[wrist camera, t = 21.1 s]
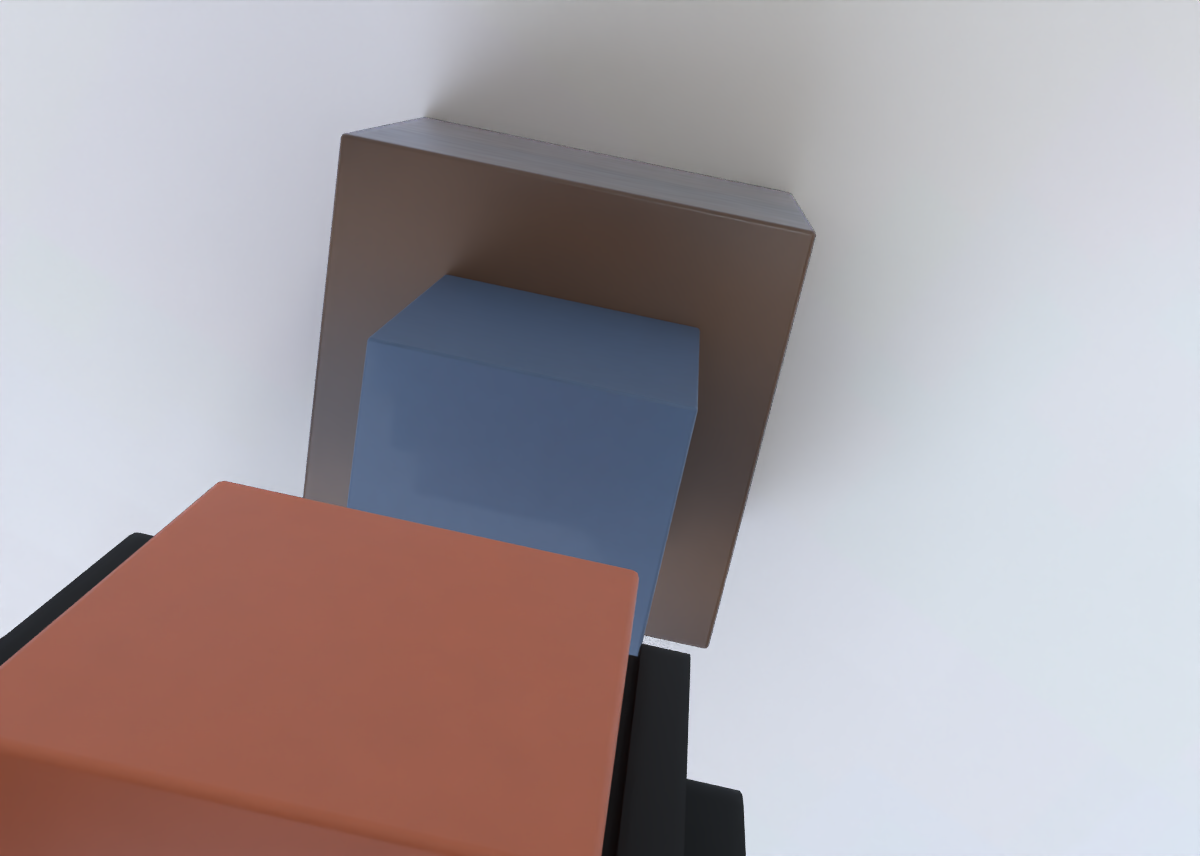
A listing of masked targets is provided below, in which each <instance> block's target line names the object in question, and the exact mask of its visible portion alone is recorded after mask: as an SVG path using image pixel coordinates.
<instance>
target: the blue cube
mask: <svg viewBox="0 0 1200 856" xmlns="http://www.w3.org/2000/svg"><path fill="white" fill-rule="evenodd" d="M699 341H700V330H699V329H698V328H696V327H691V326H686V325H681V324H677V323H672V322H667V321H663V320H658V319H653V318H649V317H644V316H639V315H635V314H630V313H625V312H620V311H616V310H611V309H606V308H602V307H597V306H592V305H588V304H583V303H578V302H573V301H569V300H564V299H559V298H555V297H550V296H545V295H541V294H536V293H531V292H527V291H522V290H517V289H512V288H508V287H503V286H498V285H494V284H489V283H484V282H480V281H475V280H470V279H466V278H461V277H456V276H451V275H444V276H443V277H442V278H441V279H439V280H438V281H437V282H436V283H435V284H433V285H432V286H431V287H430V288H429V289H427V290H426V291H425V292H424V293H423V294H421V295H420V296H419V297H418V298H416V299H415V300H414V301H413V302H412V303H410V304H409V305H408V306H407V307H406V308H404V309H403V310H402V311H401V312H400V313H398V314H397V315H396V316H395V317H393V318H392V319H391V320H390V321H389V322H387V323H386V324H385V325H384V326H383V327H381V328H380V329H379V330H378V331H377V332H375V333H374V334H373V335H372V336H370V337H369V338H368V340H367V347H366V355H365V363H364V372H363V380H362V388H361V396H360V404H359V412H358V420H357V428H356V437H355V445H354V453H353V461H352V469H351V477H350V485H349V493H348V502H347V508H351V509H355V510H360V511H365V512H369V513H374V514H378V515H383V516H387V517H392V518H397V519H401V520H406V521H410V522H415V523H420V524H424V525H429V526H433V527H438V528H442V529H447V530H452V531H456V532H461V533H465V534H470V535H474V536H479V537H484V538H488V539H493V540H497V541H502V542H506V543H511V544H516V545H520V546H525V547H529V548H534V549H538V550H543V551H548V552H552V553H557V554H561V555H566V556H571V557H575V558H580V559H584V560H589V561H593V562H598V563H603V564H607V565H612V566H616V567H621V568H625V569H630V570H633V571H635V572H637V573H638V577H639V583H638V590H637V598H636V605H635V612H634V620H633V627H632V634H631V642H630V649H629V655H634V656H638V652H639V649H640V646H641V644H642V642H643V638H644V634H645V629H646V625H647V621H648V617H649V613H650V608H651V604H652V600H653V596H654V592H655V587H656V583H657V579H658V575H659V571H660V567H661V562H662V558H663V554H664V550H665V546H666V541H667V537H668V533H669V529H670V525H671V520H672V516H673V512H674V508H675V504H676V499H677V495H678V491H679V487H680V483H681V478H682V474H683V470H684V466H685V462H686V458H687V453H688V449H689V445H690V441H691V437H692V432H693V428H694V424H695V420H696V416H697V411H698V377H699Z"/></svg>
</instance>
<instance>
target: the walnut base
mask: <svg viewBox="0 0 1200 856" xmlns="http://www.w3.org/2000/svg"><path fill="white" fill-rule="evenodd" d="M815 237H816V234H815V231H814V230H813V228H812V226H811V225H810V223H809V221H808V220H807V218H806V217H805V215H804V213H803V212H802V210H801V208H800V207H799V205H798V203H797V202H796V200H795V199H794V197H793V195H792V194H791V193H788V192H783V191H778V190H774V189H769V188H764V187H759V186H754V185H750V184H745V183H740V182H735V181H730V180H725V179H721V178H716V177H711V176H706V175H701V174H696V173H692V172H687V171H682V170H677V169H672V168H668V167H663V166H658V165H653V164H648V163H643V162H639V161H634V160H629V159H624V158H619V157H614V156H610V155H605V154H600V153H595V152H590V151H586V150H581V149H576V148H571V147H566V146H561V145H557V144H552V143H547V142H542V141H537V140H532V139H528V138H523V137H518V136H513V135H508V134H504V133H499V132H494V131H489V130H484V129H479V128H475V127H470V126H465V125H460V124H455V123H450V122H446V121H441V120H436V119H431V118H426V117H422V118H417V119H413V120H408V121H403V122H398V123H393V124H388V125H384V126H379V127H374V128H369V129H364V130H360V131H355V132H350V133H345V134H342V136H341V142H340V151H339V161H338V170H337V180H336V189H335V199H334V208H333V218H332V227H331V237H330V246H329V256H328V265H327V275H326V284H325V294H324V303H323V313H322V322H321V332H320V341H319V351H318V360H317V370H316V379H315V389H314V398H313V408H312V417H311V427H310V436H309V446H308V455H307V465H306V474H305V484H304V493H303V498H305V499H310V500H314V501H319V502H323V503H328V504H333V505H337V506H342V507H346V508H347V502H348V493H349V485H350V477H351V469H352V461H353V453H354V445H355V437H356V428H357V420H358V412H359V404H360V396H361V388H362V380H363V372H364V363H365V355H366V347H367V340H368V338H369V337H370V336H372V335H373V334H374V333H375V332H377V331H378V330H379V329H380V328H381V327H383V326H384V325H385V324H386V323H387V322H389V321H390V320H391V319H392V318H393V317H395V316H396V315H397V314H398V313H400V312H401V311H402V310H403V309H404V308H406V307H407V306H408V305H409V304H410V303H412V302H413V301H414V300H415V299H416V298H418V297H419V296H420V295H421V294H423V293H424V292H425V291H426V290H427V289H429V288H430V287H431V286H432V285H433V284H435V283H436V282H437V281H438V280H439V279H441V278H442V277H443V276H444V275H451V276H456V277H461V278H466V279H470V280H475V281H480V282H484V283H489V284H494V285H498V286H503V287H508V288H512V289H517V290H522V291H527V292H531V293H536V294H541V295H545V296H550V297H555V298H559V299H564V300H569V301H573V302H578V303H583V304H588V305H592V306H597V307H602V308H606V309H611V310H616V311H620V312H625V313H630V314H635V315H639V316H644V317H649V318H653V319H658V320H663V321H667V322H672V323H677V324H681V325H686V326H691V327H696V328H698V329H699V330H700V341H699V377H698V411H697V416H696V420H695V424H694V428H693V432H692V437H691V441H690V445H689V449H688V453H687V458H686V462H685V466H684V470H683V474H682V478H681V483H680V487H679V491H678V495H677V499H676V504H675V508H674V512H673V516H672V520H671V525H670V529H669V533H668V537H667V541H666V546H665V550H664V554H663V558H662V562H661V567H660V571H659V575H658V579H657V583H656V587H655V592H654V596H653V600H652V604H651V608H650V613H649V617H648V621H647V625H646V629H645V634H644V635H645V636H650V637H654V638H659V639H664V640H668V641H673V642H677V643H682V644H686V645H691V646H696V647H700V648H707V647H708V646H709V643H710V639H711V636H712V632H713V628H714V624H715V620H716V616H717V613H718V609H719V605H720V601H721V597H722V593H723V590H724V586H725V582H726V578H727V574H728V570H729V567H730V563H731V559H732V555H733V551H734V547H735V544H736V540H737V536H738V532H739V528H740V524H741V521H742V517H743V513H744V509H745V505H746V501H747V498H748V494H749V490H750V486H751V482H752V479H753V475H754V471H755V467H756V463H757V459H758V456H759V452H760V448H761V444H762V440H763V436H764V433H765V429H766V425H767V421H768V417H769V413H770V410H771V406H772V402H773V398H774V394H775V390H776V387H777V383H778V379H779V375H780V371H781V367H782V364H783V360H784V356H785V352H786V348H787V344H788V341H789V337H790V333H791V329H792V325H793V321H794V318H795V314H796V310H797V306H798V302H799V298H800V295H801V291H802V287H803V283H804V279H805V275H806V272H807V268H808V264H809V260H810V256H811V252H812V249H813V245H814V241H815Z"/></svg>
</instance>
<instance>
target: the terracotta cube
mask: <svg viewBox="0 0 1200 856" xmlns="http://www.w3.org/2000/svg"><path fill="white" fill-rule="evenodd" d="M638 583H639V577H638V573H637V572H635V571H633V570H630V569H625V568H621V567H616V566H612V565H607V564H603V563H598V562H593V561H589V560H584V559H580V558H575V557H571V556H566V555H561V554H557V553H552V552H548V551H543V550H538V549H534V548H529V547H525V546H520V545H516V544H511V543H506V542H502V541H497V540H493V539H488V538H484V537H479V536H474V535H470V534H465V533H461V532H456V531H452V530H447V529H442V528H438V527H433V526H429V525H424V524H420V523H415V522H410V521H406V520H401V519H397V518H392V517H387V516H383V515H378V514H374V513H369V512H365V511H360V510H355V509H351V508H346V507H342V506H337V505H333V504H328V503H323V502H319V501H314V500H310V499H305V498H301V497H296V496H291V495H287V494H282V493H278V492H273V491H269V490H264V489H259V488H255V487H250V486H246V485H241V484H236V483H232V482H227V481H221V482H218V483H217V484H215V485H214V486H213V487H212V488H211V489H209V490H208V491H207V492H206V493H205V494H204V495H202V496H201V497H200V498H199V499H198V500H196V501H195V502H194V503H193V504H192V505H191V506H189V507H188V508H187V509H186V510H185V511H183V512H182V513H181V514H180V515H179V516H178V517H176V518H175V519H174V520H173V521H172V522H170V523H169V524H168V525H167V526H166V527H164V528H163V529H162V530H161V531H160V532H159V533H157V534H156V535H155V536H154V537H153V538H151V539H150V540H149V541H148V542H147V543H146V544H144V545H143V546H142V547H141V548H140V549H138V550H137V551H136V552H135V553H134V554H133V555H131V556H130V557H129V558H128V559H127V560H125V561H124V562H123V563H122V564H121V565H119V566H118V567H117V568H116V569H115V570H114V571H112V572H111V573H110V574H109V575H108V576H106V577H105V578H104V579H103V580H102V581H101V582H99V583H98V584H97V585H96V586H95V587H93V588H92V589H91V590H90V591H89V592H88V593H86V594H85V595H84V596H83V597H82V598H80V599H79V600H78V601H77V602H76V603H74V604H73V605H72V606H71V607H70V608H69V609H67V610H66V611H65V612H64V613H63V614H61V615H60V616H59V617H58V618H57V619H56V620H54V621H53V622H52V623H51V624H50V625H48V626H47V627H46V628H45V629H44V630H43V631H41V632H40V633H39V634H38V635H37V636H35V637H34V638H33V639H32V640H31V641H30V642H28V643H27V644H26V645H25V646H24V647H22V648H21V649H20V650H19V651H18V652H16V653H15V654H14V655H13V656H12V657H11V658H9V659H8V660H7V661H6V662H5V663H3V664H2V665H1V666H0V856H601V855H602V847H603V840H604V833H605V825H606V818H607V811H608V803H609V796H610V789H611V781H612V774H613V767H614V759H615V752H616V745H617V737H618V730H619V723H620V715H621V708H622V701H623V693H624V686H625V678H626V671H627V664H628V656H629V649H630V642H631V634H632V627H633V620H634V612H635V605H636V598H637V590H638Z"/></svg>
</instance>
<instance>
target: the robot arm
mask: <svg viewBox="0 0 1200 856" xmlns="http://www.w3.org/2000/svg"><path fill="white" fill-rule="evenodd" d="M153 537H154V536H152V535H147V534H142V533H133V534H131V535H129V536H128V537H127V538H126V539H124V540H123V541H122V542H121V543H119V544H118V545H117V546H116V547H114V548H113V549H112V550H111V551H109V552H108V553H107V554H106V555H105V556H103V557H102V558H101V559H100V560H98V561H97V562H96V563H95V564H93V565H92V566H91V567H90V568H88V569H87V570H86V571H85V572H83V573H82V574H81V575H80V576H79V577H77V578H76V579H75V580H74V581H72V582H71V583H70V584H69V585H67V586H66V587H65V588H64V589H62V590H61V591H60V592H59V593H57V594H56V595H55V596H54V597H52V598H51V599H50V600H49V601H48V602H46V603H45V604H44V605H43V606H41V607H40V608H39V609H38V610H36V611H35V612H34V613H33V614H31V615H30V616H29V617H28V618H26V619H25V620H24V621H23V622H22V623H20V624H19V625H18V626H17V627H15V628H14V629H13V630H12V631H10V632H9V633H8V634H7V635H5V636H4V637H2V638H1V639H0V666H1V665H2V664H3V663H5V662H6V661H7V660H8V659H9V658H11V657H12V656H13V655H14V654H15V653H16V652H18V651H19V650H20V649H21V648H22V647H24V646H25V645H26V644H27V643H28V642H30V641H31V640H32V639H33V638H34V637H35V636H37V635H38V634H39V633H40V632H41V631H43V630H44V629H45V628H46V627H47V626H48V625H50V624H51V623H52V622H53V621H54V620H56V619H57V618H58V617H59V616H60V615H61V614H63V613H64V612H65V611H66V610H67V609H69V608H70V607H71V606H72V605H73V604H74V603H76V602H77V601H78V600H79V599H80V598H82V597H83V596H84V595H85V594H86V593H88V592H89V591H90V590H91V589H92V588H93V587H95V586H96V585H97V584H98V583H99V582H101V581H102V580H103V579H104V578H105V577H106V576H108V575H109V574H110V573H111V572H112V571H114V570H115V569H116V568H117V567H118V566H119V565H121V564H122V563H123V562H124V561H125V560H127V559H128V558H129V557H130V556H131V555H133V554H134V553H135V552H136V551H137V550H138V549H140V548H141V547H142V546H143V545H144V544H146V543H147V542H148V541H149V540H150V539H151V538H153ZM689 687H690V654H687V653H682V652H677V651H673V650H668V649H664V648H659V647H655V646H650V645H646V644H641V646H640V649H639V652H638V656H634V655H629V656H628V664H627V671H626V678H625V686H624V693H623V701H622V708H621V715H620V723H619V730H618V737H617V745H616V752H615V759H614V767H613V774H612V781H611V789H610V796H609V803H608V811H607V818H606V825H605V833H604V840H603V847H602V855H601V856H746V850H745V828H744V806H743V798H742V794H741V792H740V791H738V790H734V789H729V788H725V787H720V786H716V785H712V784H707V783H703V782H698V781H694V780H689V779H686V778H687V748H688V718H689Z"/></svg>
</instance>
